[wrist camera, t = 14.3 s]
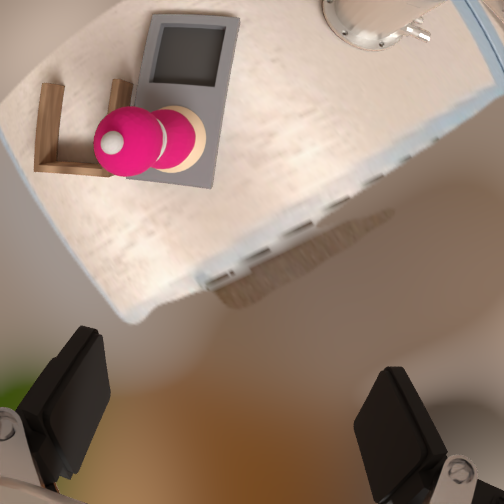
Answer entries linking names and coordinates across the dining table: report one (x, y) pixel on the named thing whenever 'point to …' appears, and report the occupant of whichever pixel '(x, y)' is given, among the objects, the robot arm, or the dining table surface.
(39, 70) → the dining table surface
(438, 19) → the dining table surface
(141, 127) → the pepper mill
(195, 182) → the gray portable music player
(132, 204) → the dining table surface
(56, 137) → the wooden u-shaped frame
